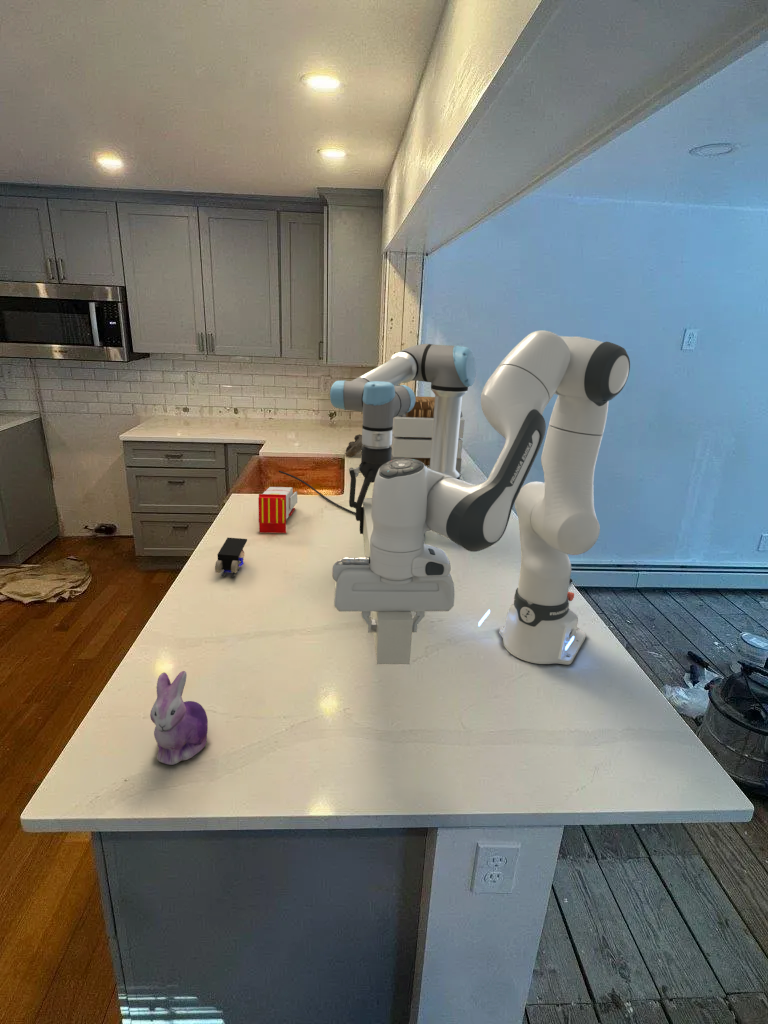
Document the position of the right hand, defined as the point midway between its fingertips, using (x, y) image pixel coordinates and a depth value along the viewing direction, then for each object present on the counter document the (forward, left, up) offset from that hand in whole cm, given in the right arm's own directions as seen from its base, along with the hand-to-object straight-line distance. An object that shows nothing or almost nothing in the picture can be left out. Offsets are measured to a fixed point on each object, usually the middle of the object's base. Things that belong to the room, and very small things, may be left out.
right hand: (392, 630), depth 98 cm
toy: (-53, -104, -22) cm, 119 cm away
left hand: (-36, -39, -3) cm, 53 cm away
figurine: (+28, -23, -23) cm, 43 cm away
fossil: (-146, -158, -22) cm, 217 cm away
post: (-18, -20, -4) cm, 27 cm away
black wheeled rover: (-17, -79, -22) cm, 84 cm away
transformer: (-142, -111, -23) cm, 182 cm away
